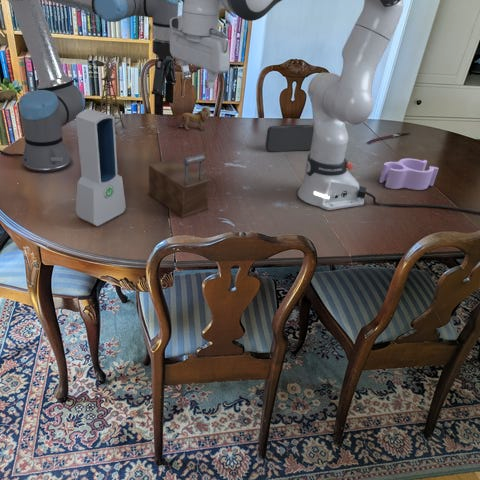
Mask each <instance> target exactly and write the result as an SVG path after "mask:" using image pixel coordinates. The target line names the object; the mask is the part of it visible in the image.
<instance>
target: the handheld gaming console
mask: <svg viewBox="0 0 480 480" xmlns="http://www.w3.org/2000/svg"><path fill="white" fill-rule="evenodd" d="M312 138H313V124H292V125H291V124H290V125H289V124H286V125H285V124H284V125H283V124H281V125H270V126H268V127H267V130H266V139H265V145H264V146H265V150H267V151H268V152H289V151H290V152H292V151H294V152H295V151H310V150H311V144H312Z"/></svg>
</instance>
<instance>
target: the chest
mask: <svg viewBox="0 0 480 480" xmlns="http://www.w3.org/2000/svg"><path fill="white" fill-rule="evenodd" d="M209 184H210V183H207V184H204V185H200V186H197V187H194V188H191V189H187V190H183V189H181V188H180V187H178V186H177V185H175V184H174V183H172V182H170V181H169V180H167V179H166V178H164V177H163V176H161V175H160V174H158V173H157V172H155V171H153V170H152V169H150V168H149V167H148V194H149V196H151V197H152V198H154V199H155V200H157V201H159V203H161V204H162V205H164V206H165V207H166V208H168V209H169V210H170V211H172V212H173V213H175V214H176V215H178V216H179V217H181V218H185V217H188V216H191V215H194V214H196V213H199V212H202V211H206V210H207V209H208V201H209V200H208V199H209V186H210V185H209Z"/></svg>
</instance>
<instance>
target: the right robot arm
mask: <svg viewBox="0 0 480 480" xmlns="http://www.w3.org/2000/svg"><path fill="white" fill-rule="evenodd" d="M281 1H283V0H183V5H182V8H181V11H182V12H181V15H178V17H174V18H171V19H170V27H171V28H172V29H171V32H170V52H171V55H172V57H174V59H177V60H179V66H180V68H181V71H182V75H181V77H182V79H185V80H191V79H192V71H190V68H189V65H190V64H191V65H193V66H195V67H198V68H201V69H203V70H206V71H207V75H208V78H207V79H205V80H204V87H205V88H206V89H208V90H212V89H214V87H215V81H216V79H217V78H218V76H219V75H221V74H226V73H228V71H229V70H230V67H231V66H230V64H231V61H230V60H231V59H230V58H231V57H230V43H229V39H228V37H227V35H226V33H225V32H224V31H220V30H219V22H220V21H219V19H220V11H221V10H222V9H224V10H227V11H229V12H231V13H232V14H235V15H236V16H237V17H239V18H240V19H242V20H245V21H248V22H253V21H257V20H260V19H261V18H263V17H264V16H266V15H267V14H268V13H269V12H271V10H272V9H273V8H274V7H275V6H276V5H277V4H279V3H280V2H281ZM363 1H364V3H363V7H362V10H361V12H360V14H359V16H358V18H357V20H356V21H355V23H354V26H353V27H352V29H351V31H350V33H349V35H348V37H347V39H346V41H345V43H344V45H343V47H342V50H341V57H342V62H343V63H342V69H341V70H342V71H341V73H340V75H338V74H336V73H334V72H333V73H332V72H320V73H317V74H316V75H314V76H313V77H312V78H311V79H310V81H309V83H308V87H307V94H308V95H307V96H308V98H309V100H310V103H311V110H312V111H311V112H312V125H313V138H312V144H311V150H309V153H308V155H307V159H306V163H305V172H304V176H303V179H302V182H301V185H300V186H299V189H298V191H297V197H299V199H300V200H302V201H303V202H305V203H307V204H309V205H312V206H316V207H319V208H321V209H324V210H326V211H334V210H340V209H341V210H342V209H346V208H352V207H358V206H363V205H364V204H365V196H366V195H367V196H369V197H371V198H372V203H373V204H374V205H377V206H383V207H421V208H423V207H425V208H438V209H447V210H448V209H449V210H456V211H461V212H466V213H473V214H478V215H480V211H479V210H474V209H469V208H462V207H456V206H449V205H442V204H426V203H379V202H378V201H376V200H377V199H376V196H375V195H373V194H372V193H371V192H368V191H367V188H368V187H365V186H360V184H359V182H358V180H357V178H355V176H354V175H353V174H352V173H351V172H349V171H352V170H354V168H355V167H354V164H353V163H352V162H349V161H348V160H347V159H346V158H345V156H346V152H347V147H348V143H349V133H348V131H347V128H346V124H347V125H353V126H357V125H360V124H363V123H365V121H367V120H368V119H369V118H370V117H371V114H372V113H373V110H374V99H373V93H372V90H373V82H374V78H375V74H376V72H377V68H378V66H379V64H380V62H381V59H382V57H383V55H384V53H385V52H386V50H387V48H388V45H389V44H390V42H391V40H392V38H393V37H394V34H395V32H396V29H397V27H398V25H399V23H400V19H401V17H402V14H403V10H404V2H403V0H363Z"/></svg>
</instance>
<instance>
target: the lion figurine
mask: <svg viewBox="0 0 480 480" xmlns="http://www.w3.org/2000/svg"><path fill="white" fill-rule="evenodd" d="M210 116H211V109H210V108H209V107H207V106H205V107H202V108H201V109H200V110H199V111H198V112H196V113H191V112H184V113H182V114H181V115H180V118H179V121H178V124H177V125H176V129H178V128H183V125H182V124H183V123H184V128H185V129H186V130H187V131H189V130H190V128H189V127H188V124H189V122H191V123H193V124H194V123H197V128H199V130H201V131H203V130H204V128H203V123H206V122H207V121H208V120H209V118H210Z"/></svg>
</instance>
